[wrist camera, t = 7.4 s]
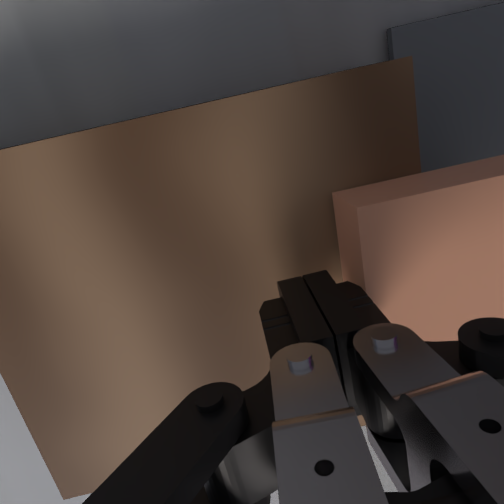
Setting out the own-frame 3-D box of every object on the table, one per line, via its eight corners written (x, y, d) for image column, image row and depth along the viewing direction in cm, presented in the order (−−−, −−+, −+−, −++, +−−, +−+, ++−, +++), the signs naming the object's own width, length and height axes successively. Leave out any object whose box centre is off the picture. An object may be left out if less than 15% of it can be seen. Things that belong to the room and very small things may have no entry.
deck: (362, 66, 16) (412, 55, 12) (394, 348, 20) (439, 407, 16) (-24, 154, 15) (-100, 172, 11) (91, 421, 19) (63, 499, 16)
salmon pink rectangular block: (584, 136, 13) (649, 142, 11) (571, 309, 15) (625, 337, 13) (331, 192, 13) (356, 208, 11) (353, 363, 15) (377, 401, 13)
